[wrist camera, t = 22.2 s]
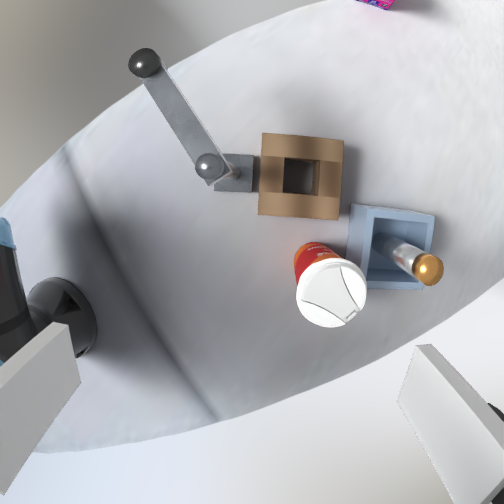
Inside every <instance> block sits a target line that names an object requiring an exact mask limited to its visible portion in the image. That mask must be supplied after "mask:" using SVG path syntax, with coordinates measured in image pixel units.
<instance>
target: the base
mask: <svg viewBox="0 0 504 504" xmlns="http://www.w3.org/2000/svg"><path fill="white" fill-rule="evenodd" d="M222 155H223V156H224V158H225V160H226V161H227V162H229V163H231V164H233V165H234V166H236V167H238V168H239V170H240V176H239V177H238V178H237V179H234V180H231V179H221V180H220V181H218V182H216V183H215V184H214V191H232V192H252V178H253V161H254V155H240V154H222Z"/></svg>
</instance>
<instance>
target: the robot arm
mask: <svg viewBox="0 0 504 504" xmlns="http://www.w3.org/2000/svg"><path fill="white" fill-rule="evenodd" d="M96 334H97V326H96V320H95V316H94V313H93V311H92V309H91V306H90V305H89V303H88V301H87V300H86V298H85V297H84V296H83V294H82V293H81V292H80V291H79V290H78V289H77V288H76V287H75V286H73V285H72V284H71V283H69V282H67V281H65V280H63V279H60V278H48V279H45V280H43V281H42V282H40V283H38V284H37V285H35V286H34V287H33V288H32V290H31V292H30V293H29V295H28V296H27V298H26V297H25V293H24V289H23V284H22V280H21V275H20V271H19V266H18V261H17V255H16V246H15V245H14V241H13V236H12V231H11V226H10V224H9V222H8V221H7V220H6V219H5V218H3V217H0V494H2V495H5V493H6V491H7V490H8V488H9V487H10V485H11V483H12V482H13V480H14V479H15V477H16V476H17V474H18V472H19V471H20V469H21V468H22V466H23V465H24V463H25V462H26V460H27V459H28V457H29V456H30V454H31V453H32V451H33V450H34V448H35V447H36V445H37V444H38V442H39V441H40V440H41V438H42V437H43V435H44V434H45V432H46V431H47V429H48V428H49V427H50V425H51V424H52V422H53V421H54V419H55V418H56V417H57V415H58V414H59V412H60V411H61V410H62V408H63V407H64V406H65V404H66V403H67V401H68V400H69V399H70V397H71V396H72V395H73V393H74V392H75V391H76V389H77V388H78V386H79V385H80V384H81V380H80V376H79V372H78V368H77V364H76V360H75V359H76V358H79V357H81V356H83V355H84V354H85V353H86V352H87V351H88V350H89V349H90V348H91V347H92V345H93V344H94V342H95V339H96ZM397 403H398V404H399V406H400V408H401V409H402V411H403V413H404V415H405V416H406V418H407V420H408V421H409V423H410V425H411V426H412V428H413V430H414V432H415V434H416V435H417V437H418V439H419V440H420V442H421V444H422V446H423V447H424V449H425V451H426V453H427V455H428V456H429V458H430V460H431V462H432V464H433V465H434V467H435V469H436V471H437V473H438V474H439V476H440V478H441V480H442V482H443V484H444V486H445V488H446V489H447V491H448V493H449V495H450V497H451V498H452V501H453V503H454V504H489V503H490V502H492V503H493V504H504V414H503V413H502V412H501V411H500V410H499V409H498V408H496V407H494V406H493V405H491V404H490V403H486V402H485V401H484V399H483V398H482V397H481V396H480V395H479V394H478V393H477V392H476V391H475V390H474V388H472V386H471V385H470V384H469V383H468V382H467V381H466V380H465V379H464V378H463V377H462V376H461V374H460V373H459V372H458V371H457V370H456V369H455V368H454V367H453V366H452V365H451V364H450V363H449V362H448V361H447V360H446V359H445V358H444V357H443V356H442V355H441V354H440V353H439V352H438V350H437V349H436V348H435V347H434V346H432V345H431V344H426V345H416V346H415V350H414V353H413V356H412V359H411V362H410V365H409V368H408V371H407V374H406V377H405V379H404V382H403V385H402V388H401V391H400V393H399V395H398V398H397Z"/></svg>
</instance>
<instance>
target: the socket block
mask: <svg viewBox="0 0 504 504" xmlns="http://www.w3.org/2000/svg"><path fill="white" fill-rule="evenodd" d="M343 146H344V141H342V140H335V139H326V138H318V137H308V136H297V135H285V134H272V133H262V149H261V166H260V184H259V201H258V215H270V216H285V217H300V218H314V219H326V220H338V218H339V207H340V195H341V181H342V165H343ZM284 160H291V161H303V162H314V165H313V181H312V194H304V193H291V192H282V191H283V175H284Z"/></svg>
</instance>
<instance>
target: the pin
mask: <svg viewBox="0 0 504 504" xmlns="http://www.w3.org/2000/svg"><path fill="white" fill-rule="evenodd" d="M372 247H373V249H374V250H375V251H377V252H378V253H380V254H381V255H383V256H384V257H386V258H387V259H389V260H390V261H392V262H393V263H395V264H396V265H397V266H399V267H400V268H402V269H403V270H405V271H406V272H408V273H409V274H411V275H412V276H413V277H415V278H416V279H418V280H419V281H421V282H422V283H423V284H425V285H427V286H432V285H434V284H436V283H437V282H438V281H439V280H440V279H441V277H442V275H443V270H444V268H443V263H442V261H441V260H440V259H439V258H437V257H435V256H433V255H431V254H429V253H427V252H425V251H423V250H421V249H419V248H417V247H415V246H412V245H410V244H408V243H406V242H404V241H402V240H400V239H398V238H396V237H394V236H391V235H389V234H387V233H385V232H379V233H377V234H375V235H374V237H373V239H372Z"/></svg>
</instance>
